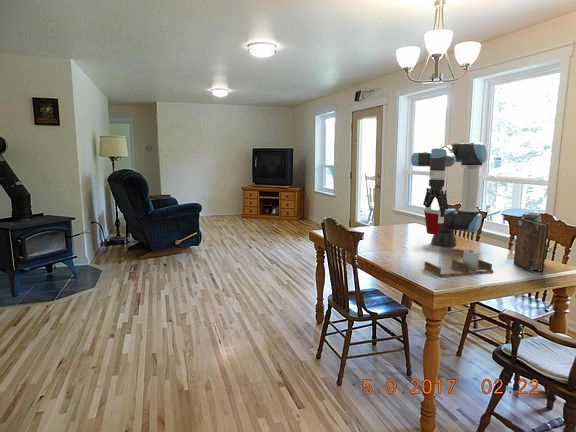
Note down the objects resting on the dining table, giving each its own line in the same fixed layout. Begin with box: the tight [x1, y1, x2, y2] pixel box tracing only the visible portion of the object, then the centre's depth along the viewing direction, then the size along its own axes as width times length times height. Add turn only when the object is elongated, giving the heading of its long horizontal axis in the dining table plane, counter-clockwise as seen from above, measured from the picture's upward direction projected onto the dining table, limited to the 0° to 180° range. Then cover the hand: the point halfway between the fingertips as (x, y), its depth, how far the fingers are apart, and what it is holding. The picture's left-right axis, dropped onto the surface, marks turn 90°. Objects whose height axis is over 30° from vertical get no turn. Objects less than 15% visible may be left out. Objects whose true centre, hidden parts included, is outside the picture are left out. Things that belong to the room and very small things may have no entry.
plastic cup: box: [423, 209, 446, 235], centre depth 195 cm, size 11×11×12 cm
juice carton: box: [520, 210, 542, 222], centre depth 208 cm, size 9×10×27 cm
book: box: [513, 218, 550, 273], centre depth 191 cm, size 17×7×25 cm, turn 177°
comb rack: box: [424, 258, 494, 278], centre depth 189 cm, size 30×13×4 cm, turn 103°
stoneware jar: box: [462, 248, 480, 271], centre depth 191 cm, size 7×7×10 cm
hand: (434, 221), depth 195 cm, fingers closed on plastic cup, 11 cm apart
